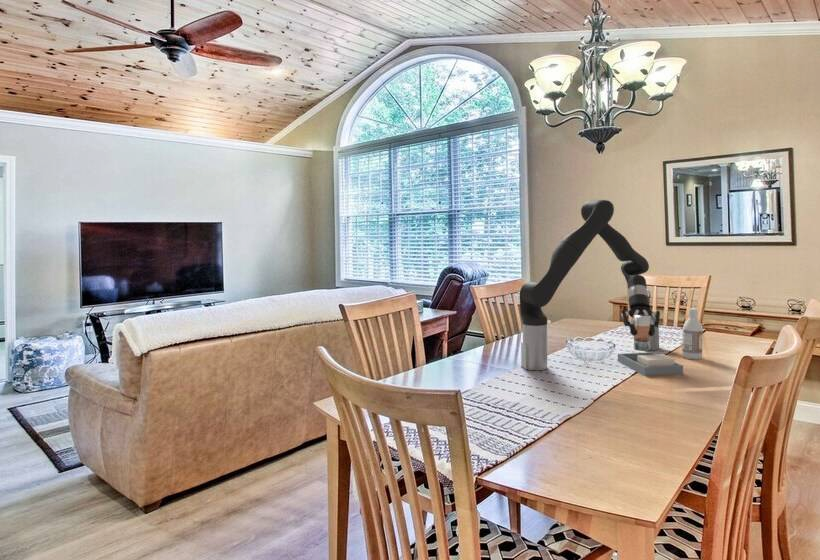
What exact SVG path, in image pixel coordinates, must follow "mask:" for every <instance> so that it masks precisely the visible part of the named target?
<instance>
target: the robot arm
mask: <svg viewBox="0 0 820 560" xmlns="http://www.w3.org/2000/svg"><path fill="white" fill-rule="evenodd" d="M614 211H615V207H614V204H613V203H612V201H610V200H607V199H593V200H587V201H586V202H584V203H583V204H582V206H581V209H580V215H581V217H582V219H583V220H584V223H583V224H582V225H580V226H579V227H578V228H577V229H575V230H573V231H572V232H570V233H569V234H567V235H566V236H565V237H564V238H563V239H562V240H561V241H560V242H559V244H558V245H557V247H556V248H555V249H554V251H553V252H552V255H551V259H550V263H549V268H548V270H547V272H546V273H545V274H544V276H543V277H542V278H541V279H540V280H539V281H538V282H537V281H527V282H525V283H523V285H522V286H521V288H520V291H519V309H520V310H519V311H520V312H519V313H520V316H521V319H522V341H521V342H520V358H521V359H520V366H521V367H522V368H523V369H524V370H527V371H544V370H546V369H547V368H548V317H547V316H546V314H545V313H544V311H543V309H542V308H544V307H546V306H547V305H548V304H549V303H550V301H552V299H553V297H554V295H555V293H556V292H557V290H558V288H559V287H560V285H561V284H562V282H563V280H564V279H565V278H566V276H567V275H568V273H569V272H570V271H571V270H572V268H573V267H574V266H575V264H576V263H577V261H578V260H579V259H580V257H581V256H582V255H583V253H584V252H585V250H586V249H587V247H588V246H589V245H590V244H591V242H593V240H594V239H595V238H596V236H597V235H599V236H600V238H601V239H602V240H603V241H604V242H605V243H606V245H607V246H608V247H609V249H610V250H611V251H612V254H614V256H615V257H616V259H618V260H619V261H620V262H622V263H621V266H620V271H621V273H622V275H623V276H624V279H625V281H626V284H627V285H626V287H627V303H628V311H625V310H622V311H621V313H620V317H621V318H622V322H623V325H624V327H629V332H630V335H632V336H633V337H634V336H635V328H634V315H638V314H643V315H650V316H651V315H653V317H654V318H655V322H653V321H652V319H651V317H650V325H651V326H650V336H653V335H654V333H655V329H654V327H658V325H659V324H660V319H661V318H660V317H661V316H660V314H661V311H659V310H656V311H653V310H652V309H651V304H650V296H649V291H648V288H647V281H646V278H645V276H643V274H645V273H647V272H648V271H649V269H650V265H649V262H648V260H647V259H646V258H645V257H644V256H643V255H642V254H640V253H639V252H637V251H636V250H635V249H634V248H633V247H632V245H631V244H630V243H629V240H628V239H627V238H626V237H625V236H624V235H623V234H622V233H620V232H619V231H618V230H617V229H615V228H613V226H612V225H610V224H609V222H610V221H611V220H612V218H613V215H614ZM628 315H629V316H630V318H631V320H630V321H629V320H628ZM659 326H660V325H659Z"/></svg>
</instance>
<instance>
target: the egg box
mask: <svg viewBox="0 0 820 560" xmlns="http://www.w3.org/2000/svg"><path fill="white" fill-rule="evenodd" d="M674 362H675V358H673V357H670V356H668V355H666V354H664V353H662V354H661V353H660V354H657V355H637V363H639V364H641V365H643V366H645V367H651V366H673V365H674Z"/></svg>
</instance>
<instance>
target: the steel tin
mask: <svg viewBox="0 0 820 560" xmlns="http://www.w3.org/2000/svg"><path fill="white" fill-rule="evenodd" d="M650 317H651V316H650V315H643V314H638V315H634V328H635V336H633V350H635V351H638V352H639V351H640V352H648V351H651V350H650V326H651V325H650Z"/></svg>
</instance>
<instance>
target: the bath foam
mask: <svg viewBox="0 0 820 560" xmlns="http://www.w3.org/2000/svg"><path fill="white" fill-rule="evenodd" d="M698 310H699V309H698V308H696V307H695V308H694V307H691V308H689V310H688V318H687V320H685V322H684V325H683V328H682V350H681V352H682V358H684V359H687V360H696V361H697V360H701V359H702V358H703V341H704V340H703V336H704V333H703V332H704V330H703V329H704V328H703V325H702V323H701V321H700V320H699V318H698V314H699V313H698Z"/></svg>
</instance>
